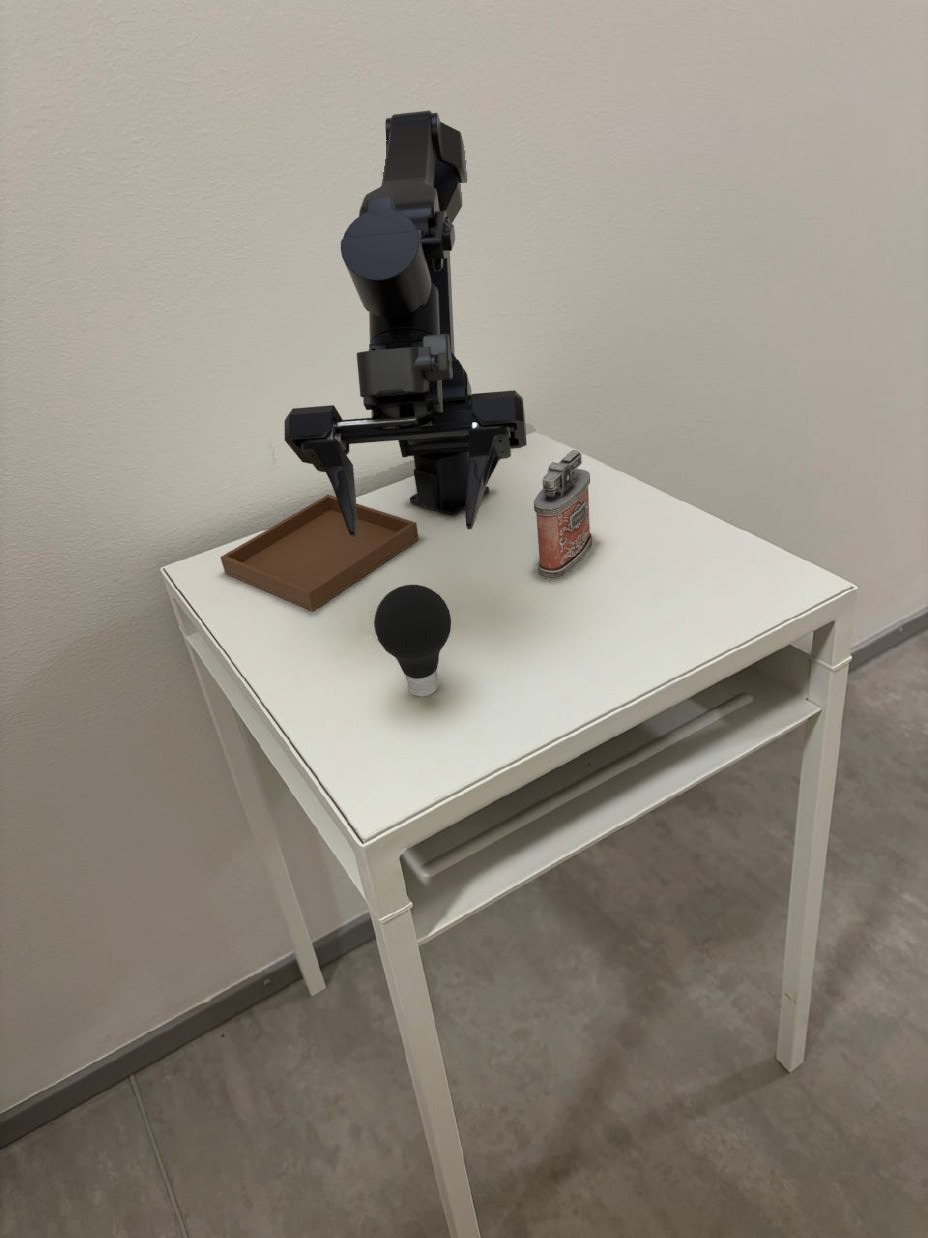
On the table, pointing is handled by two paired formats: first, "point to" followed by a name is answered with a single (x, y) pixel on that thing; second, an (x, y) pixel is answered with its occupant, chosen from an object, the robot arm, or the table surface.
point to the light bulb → (414, 633)
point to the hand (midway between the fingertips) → (410, 531)
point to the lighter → (563, 517)
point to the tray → (318, 552)
